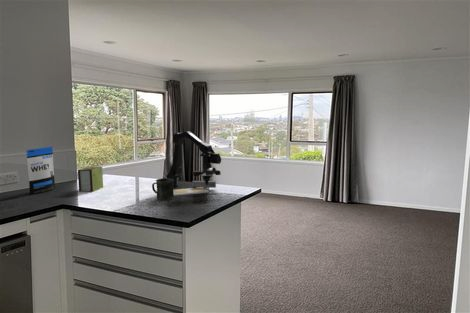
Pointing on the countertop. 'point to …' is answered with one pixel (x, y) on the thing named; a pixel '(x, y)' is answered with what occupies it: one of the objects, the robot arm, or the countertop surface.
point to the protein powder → (40, 170)
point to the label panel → (190, 191)
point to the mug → (164, 189)
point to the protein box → (90, 179)
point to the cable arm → (202, 184)
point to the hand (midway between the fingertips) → (206, 185)
